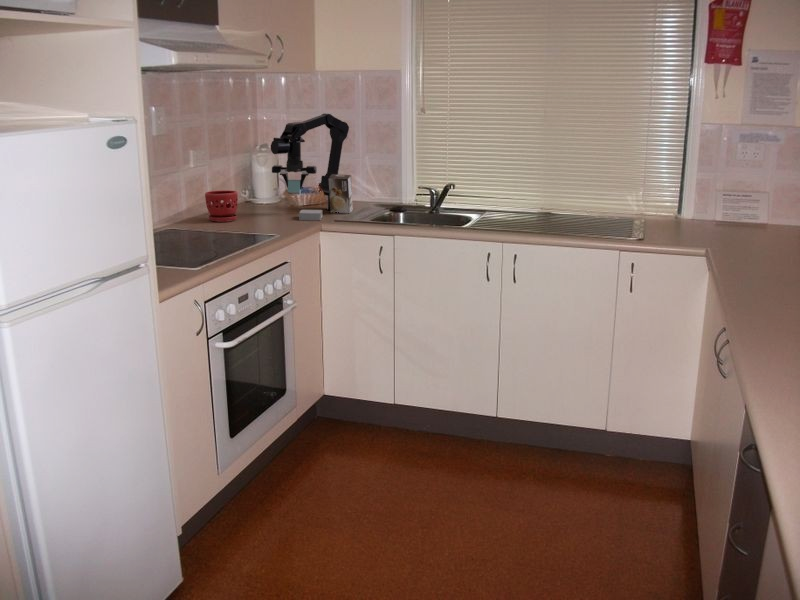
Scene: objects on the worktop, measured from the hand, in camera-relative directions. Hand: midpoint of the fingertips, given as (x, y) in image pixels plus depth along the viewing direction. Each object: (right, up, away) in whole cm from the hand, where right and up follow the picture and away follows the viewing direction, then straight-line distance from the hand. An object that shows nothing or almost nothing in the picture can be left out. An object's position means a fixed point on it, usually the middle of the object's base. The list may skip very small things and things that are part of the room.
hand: (294, 189), depth 348 cm
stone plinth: (+8, -13, -6) cm, 17 cm away
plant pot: (-28, -15, -15) cm, 35 cm away
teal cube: (0, -1, 0) cm, 1 cm away
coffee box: (+20, -8, +10) cm, 24 cm away
